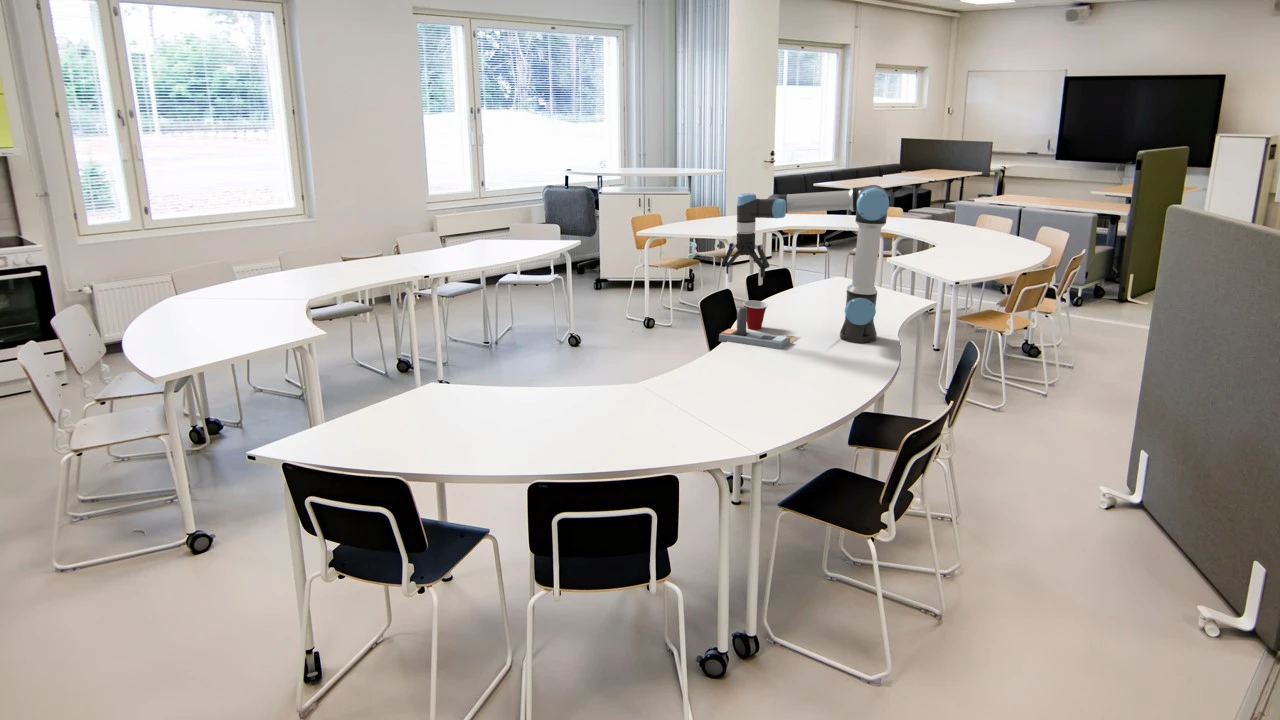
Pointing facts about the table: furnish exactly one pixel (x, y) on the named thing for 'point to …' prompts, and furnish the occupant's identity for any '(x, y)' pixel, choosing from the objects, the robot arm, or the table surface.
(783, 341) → the socket block
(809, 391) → the table surface
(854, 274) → the robot arm
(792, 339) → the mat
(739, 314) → the plug
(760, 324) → the plastic cup
